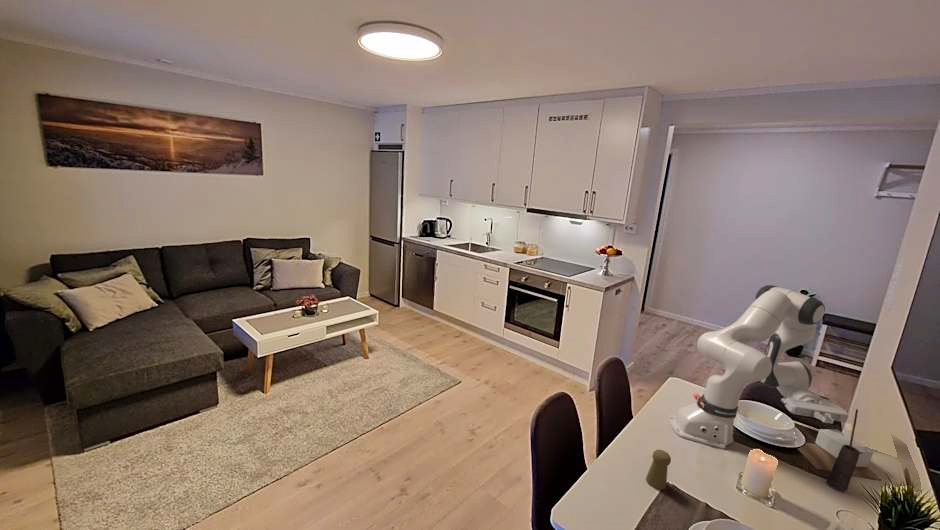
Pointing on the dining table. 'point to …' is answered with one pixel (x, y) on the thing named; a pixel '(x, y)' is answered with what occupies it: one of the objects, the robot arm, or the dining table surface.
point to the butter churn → (844, 465)
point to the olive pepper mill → (658, 470)
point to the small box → (836, 439)
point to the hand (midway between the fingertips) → (829, 421)
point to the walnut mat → (830, 461)
